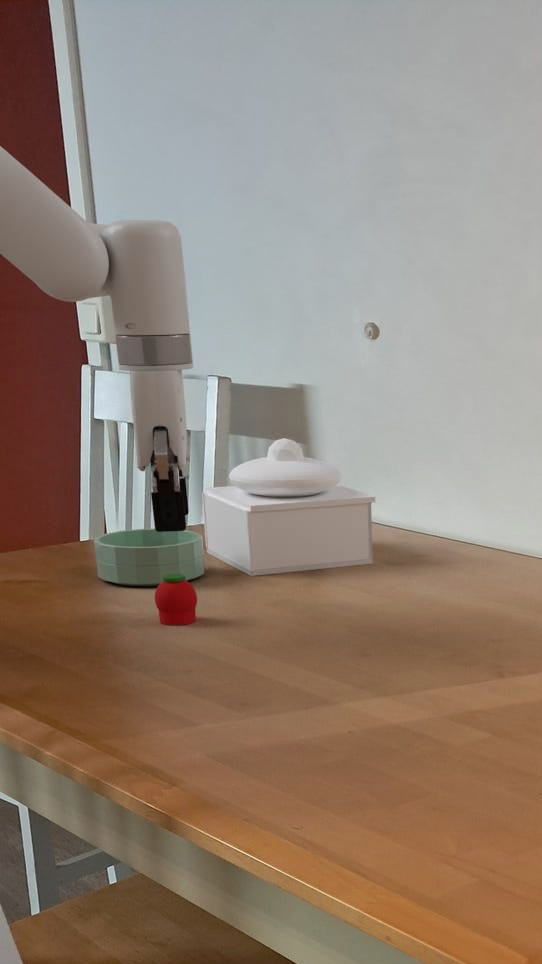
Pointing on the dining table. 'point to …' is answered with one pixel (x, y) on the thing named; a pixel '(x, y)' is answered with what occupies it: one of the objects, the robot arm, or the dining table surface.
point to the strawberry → (176, 600)
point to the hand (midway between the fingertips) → (172, 522)
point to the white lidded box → (287, 516)
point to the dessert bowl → (148, 556)
